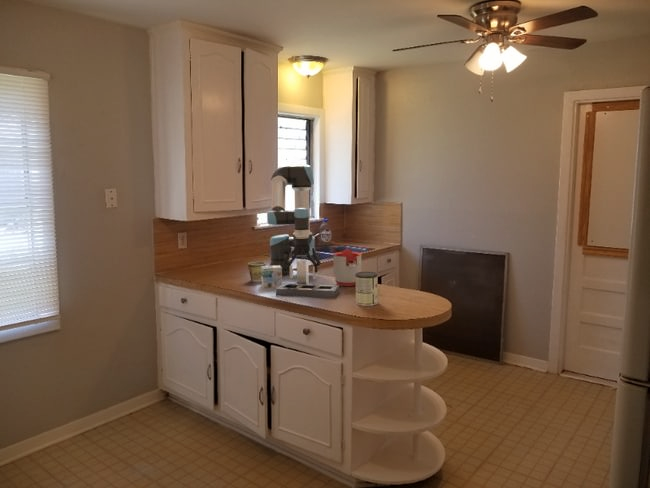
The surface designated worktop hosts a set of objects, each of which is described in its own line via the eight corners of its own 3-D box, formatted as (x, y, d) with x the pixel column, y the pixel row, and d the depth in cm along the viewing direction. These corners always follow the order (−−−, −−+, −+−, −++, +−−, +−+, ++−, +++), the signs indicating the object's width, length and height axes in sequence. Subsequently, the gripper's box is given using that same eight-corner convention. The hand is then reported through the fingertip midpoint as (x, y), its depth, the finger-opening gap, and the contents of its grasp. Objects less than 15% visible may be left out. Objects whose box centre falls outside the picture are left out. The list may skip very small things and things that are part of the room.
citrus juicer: (338, 289, 287) (338, 251, 284) (329, 282, 304) (329, 246, 301) (367, 287, 291) (367, 249, 288) (356, 280, 308) (356, 245, 305)
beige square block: (299, 286, 294) (299, 259, 292) (308, 287, 293) (308, 259, 291) (297, 289, 289) (296, 260, 287) (306, 289, 288) (305, 261, 286)
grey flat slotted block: (283, 289, 288) (283, 283, 287) (339, 291, 281) (339, 285, 280) (275, 295, 275) (275, 288, 275) (334, 297, 268) (334, 290, 268)
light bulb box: (263, 288, 292) (262, 268, 291) (261, 285, 299) (260, 266, 297) (282, 286, 295) (282, 267, 294) (280, 284, 301) (279, 264, 300)
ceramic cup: (262, 282, 306) (262, 265, 305) (245, 282, 308) (245, 264, 307) (269, 278, 319) (269, 261, 317) (253, 277, 321) (252, 260, 319)
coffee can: (354, 300, 262) (354, 271, 260) (376, 300, 262) (376, 271, 260) (356, 306, 252) (356, 276, 250) (378, 305, 252) (378, 275, 250)
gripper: (277, 238, 286) (278, 278, 289) (322, 238, 281) (323, 280, 284) (281, 236, 293) (282, 276, 296) (326, 237, 288) (326, 277, 291)
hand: (302, 278), depth 290 cm, fingers open, 12 cm apart
